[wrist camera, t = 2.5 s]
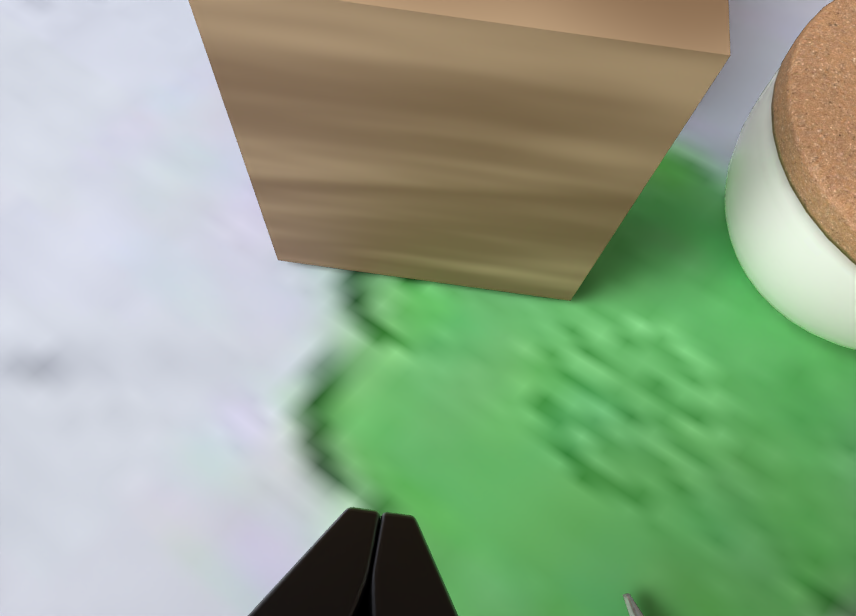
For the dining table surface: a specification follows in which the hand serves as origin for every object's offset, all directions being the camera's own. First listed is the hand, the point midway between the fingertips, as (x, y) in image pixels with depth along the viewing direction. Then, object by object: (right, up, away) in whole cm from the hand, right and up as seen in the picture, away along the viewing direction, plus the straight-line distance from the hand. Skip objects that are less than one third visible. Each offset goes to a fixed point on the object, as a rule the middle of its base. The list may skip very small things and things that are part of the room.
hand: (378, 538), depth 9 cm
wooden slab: (0, +8, +17) cm, 19 cm away
